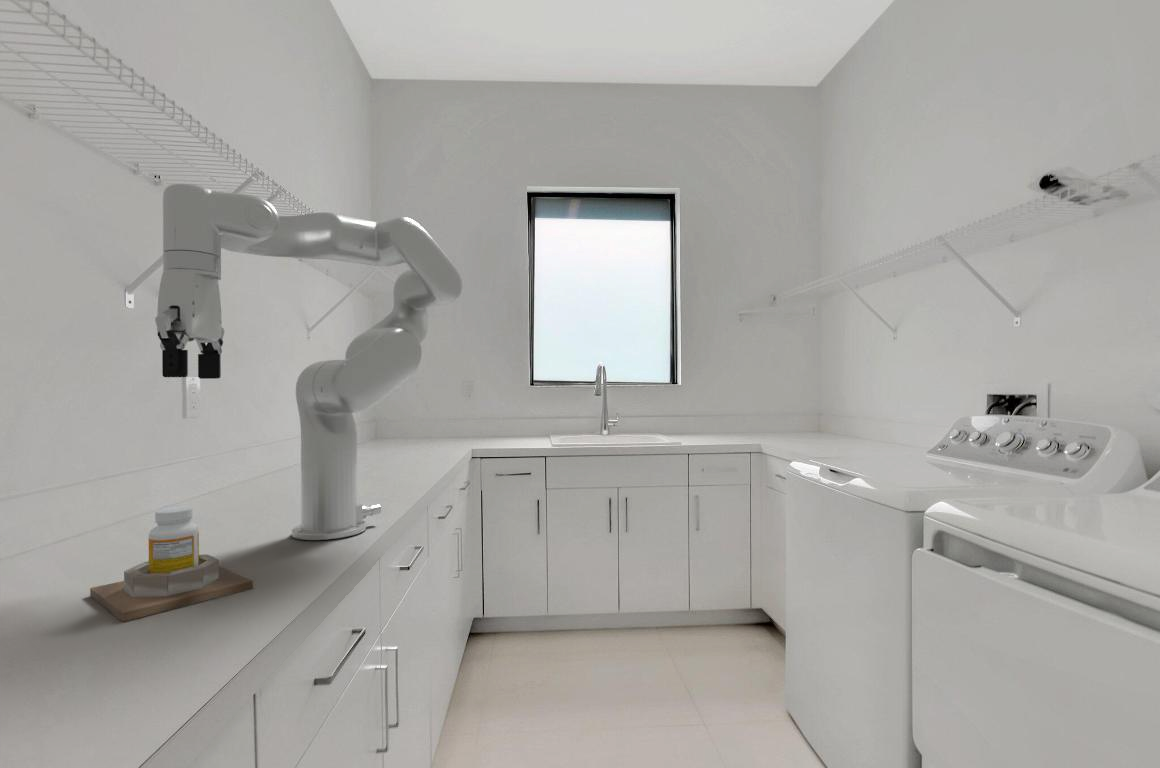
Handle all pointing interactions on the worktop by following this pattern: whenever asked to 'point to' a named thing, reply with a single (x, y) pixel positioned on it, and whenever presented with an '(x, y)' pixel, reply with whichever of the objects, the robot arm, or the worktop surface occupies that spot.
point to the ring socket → (167, 588)
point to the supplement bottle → (173, 541)
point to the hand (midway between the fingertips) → (193, 377)
